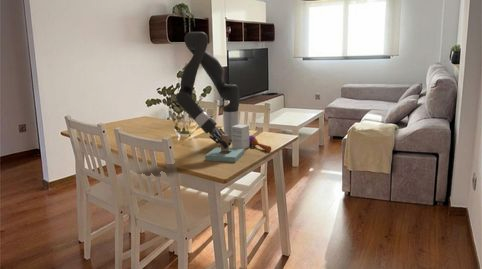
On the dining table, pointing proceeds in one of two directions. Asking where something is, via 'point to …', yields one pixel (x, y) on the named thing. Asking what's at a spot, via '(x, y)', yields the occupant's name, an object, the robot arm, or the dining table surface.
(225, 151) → the peg
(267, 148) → the kendama
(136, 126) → the dining table surface
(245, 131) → the supplement box
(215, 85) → the robot arm
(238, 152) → the board
